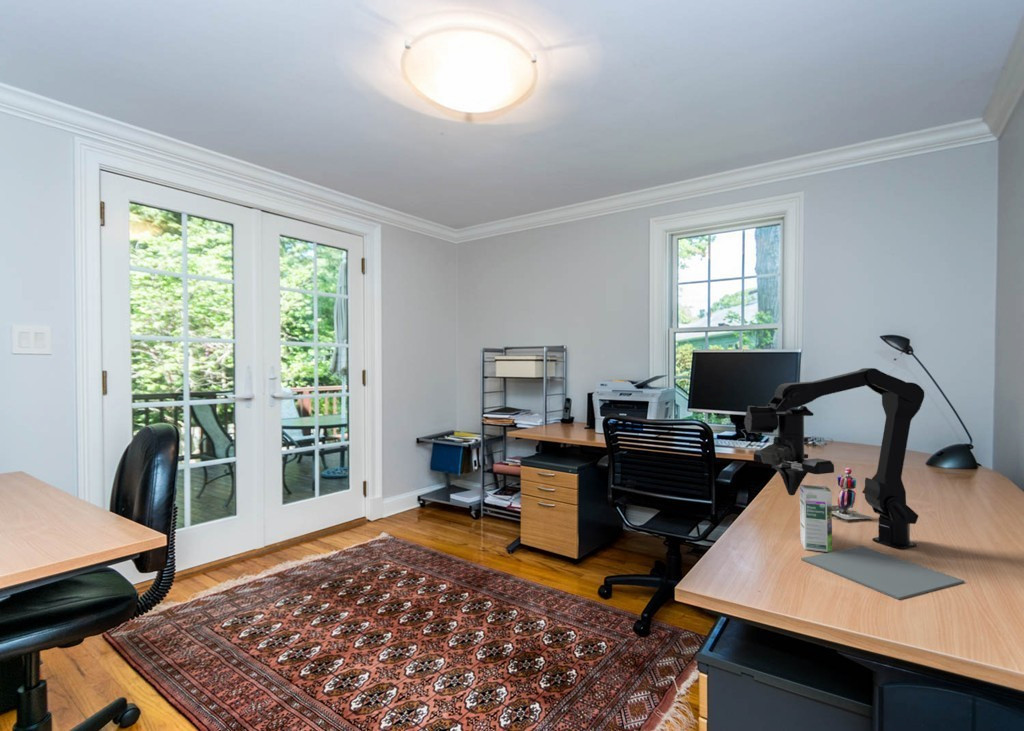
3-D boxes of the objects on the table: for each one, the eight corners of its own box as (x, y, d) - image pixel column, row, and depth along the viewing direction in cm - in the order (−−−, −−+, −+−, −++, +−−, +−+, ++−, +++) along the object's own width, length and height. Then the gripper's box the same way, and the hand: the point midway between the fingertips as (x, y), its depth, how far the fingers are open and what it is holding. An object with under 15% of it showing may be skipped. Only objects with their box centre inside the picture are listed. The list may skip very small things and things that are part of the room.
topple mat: (862, 547, 116) (862, 545, 116) (964, 582, 97) (964, 580, 97) (801, 559, 109) (801, 558, 109) (898, 599, 90) (898, 597, 90)
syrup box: (804, 550, 114) (803, 488, 114) (800, 541, 120) (799, 483, 120) (832, 553, 112) (832, 490, 112) (827, 544, 118) (826, 485, 118)
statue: (872, 524, 136) (879, 473, 135) (844, 526, 134) (851, 474, 133) (838, 508, 147) (844, 460, 145) (812, 510, 145) (818, 461, 143)
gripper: (737, 430, 128) (737, 489, 128) (800, 440, 111) (801, 508, 111) (769, 428, 132) (769, 485, 132) (835, 437, 115) (836, 503, 115)
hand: (791, 495), depth 122 cm, fingers closed
